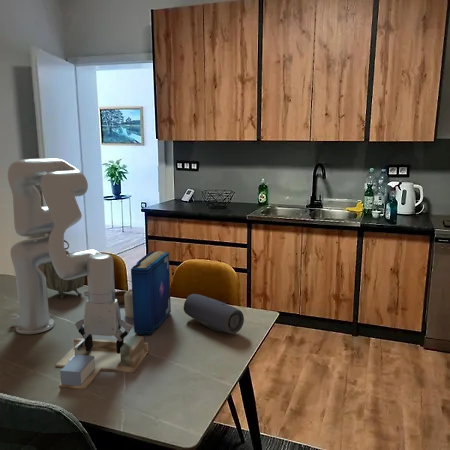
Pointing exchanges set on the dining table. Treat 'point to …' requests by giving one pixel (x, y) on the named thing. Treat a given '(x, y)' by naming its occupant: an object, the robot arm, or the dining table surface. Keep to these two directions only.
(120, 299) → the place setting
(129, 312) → the candle
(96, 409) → the dining table surface
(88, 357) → the blue-grey rectangular block
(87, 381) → the wooden platform
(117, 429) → the dining table surface
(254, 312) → the dining table surface
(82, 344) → the bookend
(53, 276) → the tabletop clock
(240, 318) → the bluetooth speaker
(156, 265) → the blue volume
